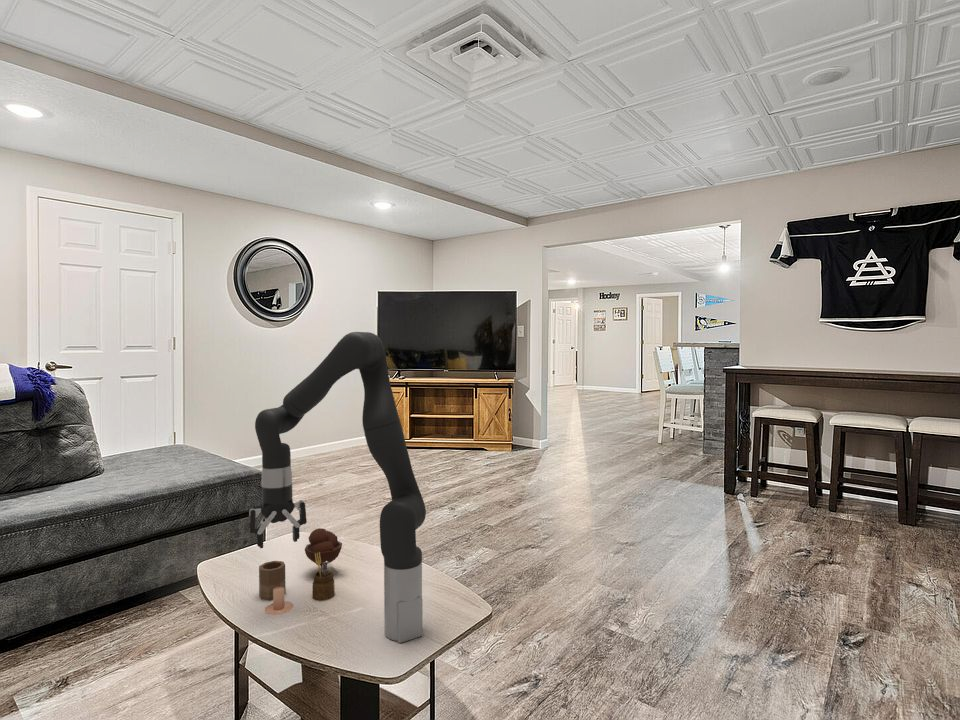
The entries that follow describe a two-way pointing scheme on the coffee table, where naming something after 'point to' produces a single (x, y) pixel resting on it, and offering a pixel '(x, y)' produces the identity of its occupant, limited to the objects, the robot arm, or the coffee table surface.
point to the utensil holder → (323, 582)
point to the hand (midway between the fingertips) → (278, 544)
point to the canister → (271, 578)
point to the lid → (278, 603)
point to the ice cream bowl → (323, 546)
